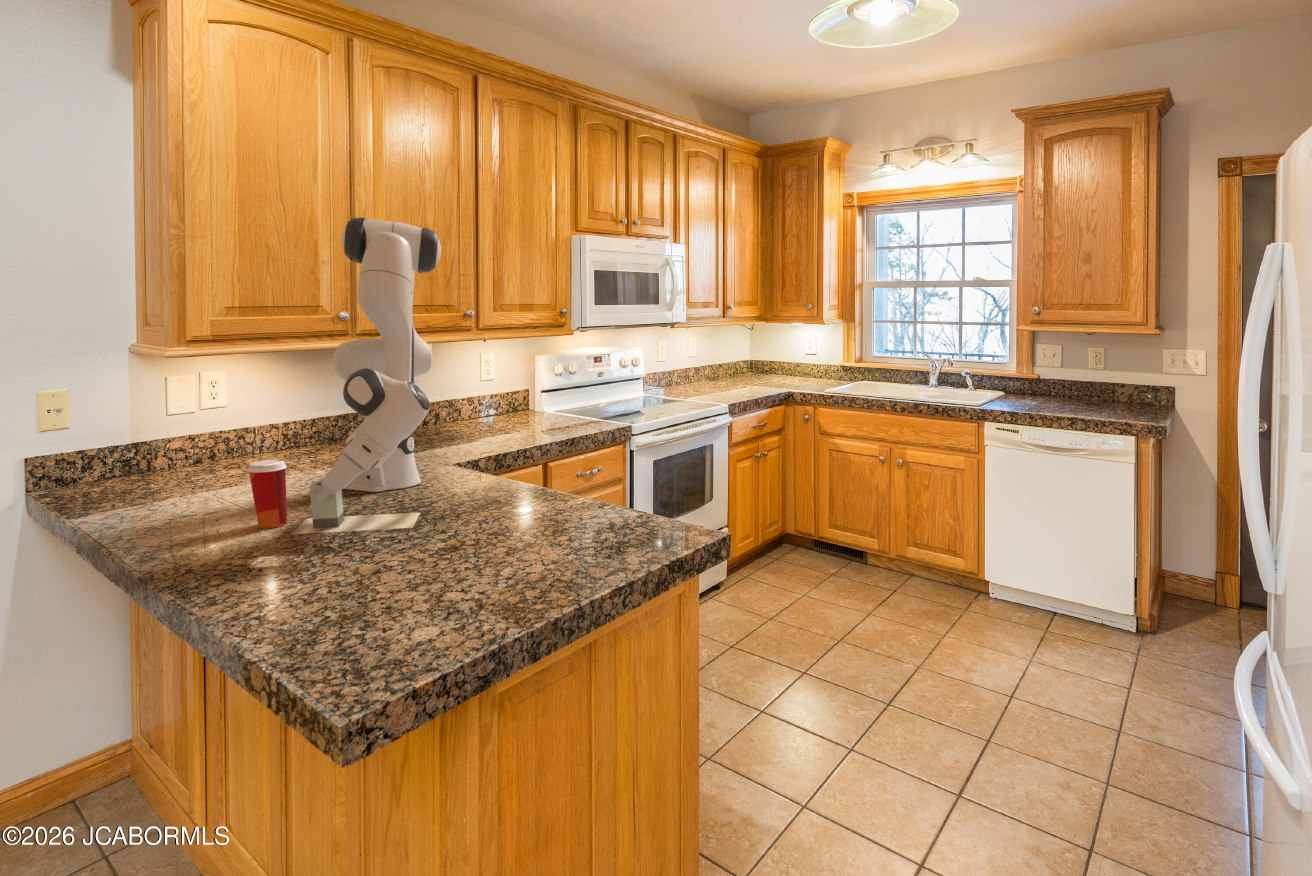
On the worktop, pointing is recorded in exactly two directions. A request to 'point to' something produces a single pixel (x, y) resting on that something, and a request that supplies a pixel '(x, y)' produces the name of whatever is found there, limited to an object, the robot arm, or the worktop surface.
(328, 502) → the sleeve
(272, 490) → the paper cup
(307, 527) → the pin board
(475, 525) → the worktop surface
